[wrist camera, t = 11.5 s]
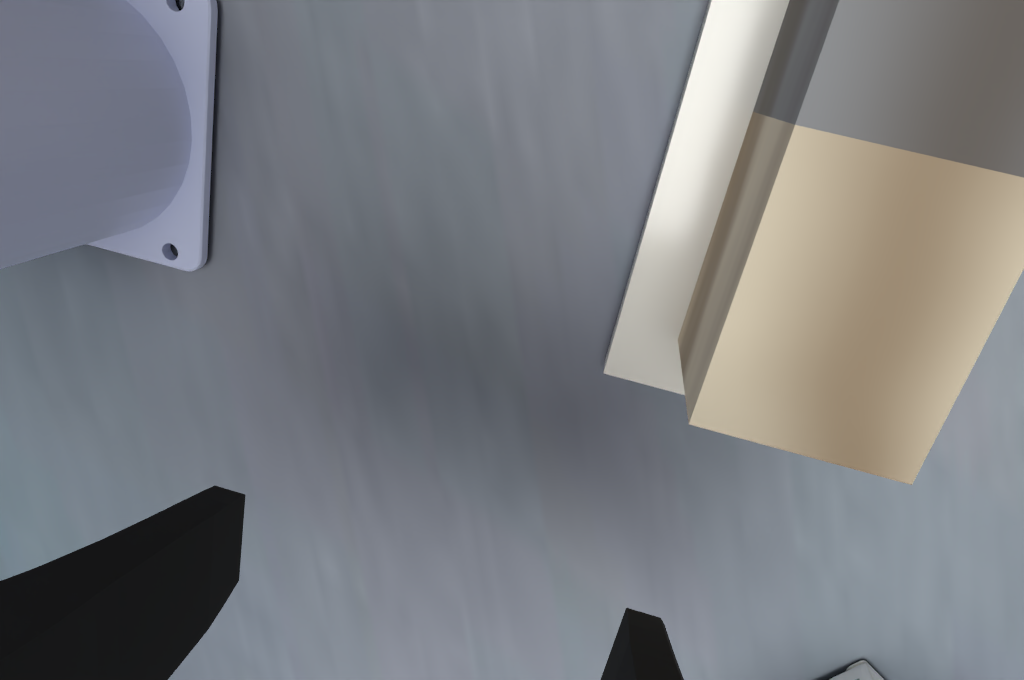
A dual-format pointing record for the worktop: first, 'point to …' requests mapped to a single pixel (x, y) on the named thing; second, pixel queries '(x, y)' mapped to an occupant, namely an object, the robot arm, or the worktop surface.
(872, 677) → the syrup box
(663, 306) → the tile
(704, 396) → the capped bar
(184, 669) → the worktop surface
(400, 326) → the worktop surface
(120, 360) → the worktop surface
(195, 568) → the robot arm
